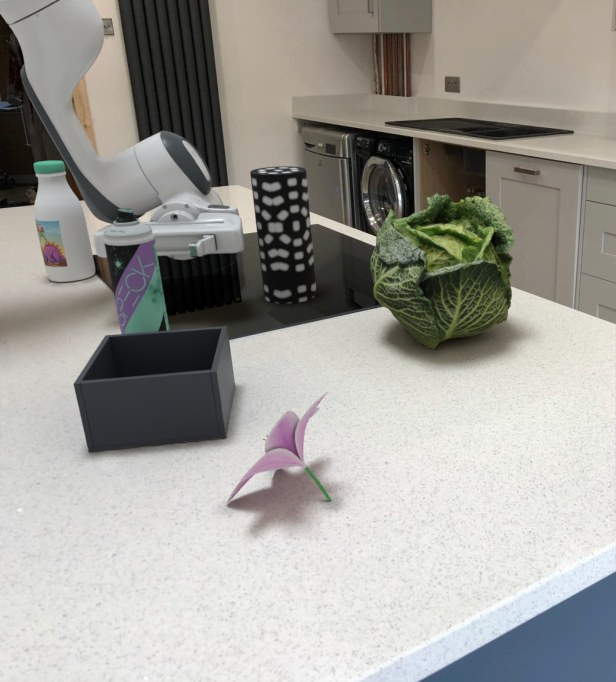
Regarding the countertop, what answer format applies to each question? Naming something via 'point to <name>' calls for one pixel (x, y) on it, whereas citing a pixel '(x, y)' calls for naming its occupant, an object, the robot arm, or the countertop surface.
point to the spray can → (135, 275)
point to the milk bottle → (61, 226)
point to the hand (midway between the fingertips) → (158, 252)
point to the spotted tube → (284, 233)
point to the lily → (284, 447)
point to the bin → (157, 388)
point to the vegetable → (445, 268)
